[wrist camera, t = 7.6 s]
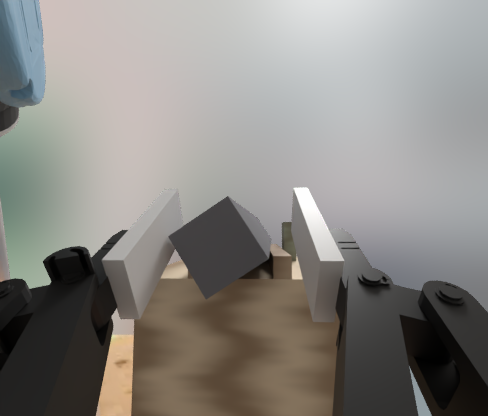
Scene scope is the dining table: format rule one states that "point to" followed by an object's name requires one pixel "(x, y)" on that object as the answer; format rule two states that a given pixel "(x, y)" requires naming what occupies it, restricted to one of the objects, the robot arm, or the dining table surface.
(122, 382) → the dining table surface
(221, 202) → the bar
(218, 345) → the tall wooden block
